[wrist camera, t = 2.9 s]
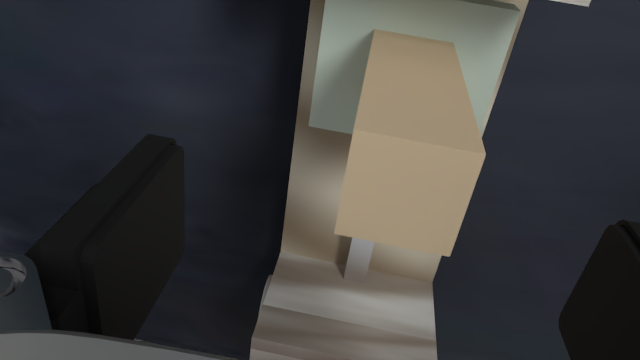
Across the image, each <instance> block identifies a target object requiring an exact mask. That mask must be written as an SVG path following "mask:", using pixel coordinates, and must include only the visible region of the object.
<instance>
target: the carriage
mask: <svg viewBox="0 0 640 360" xmlns="http://www.w3.org/2000/svg"><path fill="white" fill-rule="evenodd" d="M520 12H521V11H520V10H519V9H518V7H517V6H516V5H515V4H511V3H505V2H499V1H493V0H325V7H324V14H323V22H322V29H321V36H320V44H319V51H318V59H317V66H316V74H315V81H314V88H313V96H312V103H311V111H310V118H309V126H311V127H316V128H321V129H327V130H332V131H337V132H343V133H348V134H352V140H351V145H350V150H349V156H348V161H347V166H346V172H345V177H344V182H343V188H342V193H341V198H340V204H339V209H338V214H337V220H336V225H335V230H334V234H338V235H343V236H348V237H353V238H358V239H363V240H368V241H373V242H378V243H383V244H388V245H393V246H398V247H403V248H408V249H413V250H418V251H423V252H428V253H433V254H438V255H443V256H448V257H450V255H451V252H452V249H453V247H454V244H455V241H456V238H457V235H458V232H459V230H460V227H461V224H462V221H463V218H464V215H465V213H466V210H467V207H468V204H469V201H470V198H471V196H472V193H473V190H474V187H475V184H476V181H477V179H478V176H479V173H480V170H481V167H482V164H483V162H484V159H485V156H486V152H485V149H484V145H483V142H482V139H481V135H480V131H481V128H482V125H483V122H484V119H485V116H486V113H487V110H488V107H489V104H490V101H491V98H492V95H493V92H494V89H495V86H496V83H497V80H498V77H499V74H500V72H501V69H502V66H503V63H504V60H505V57H506V54H507V51H508V48H509V45H510V42H511V39H512V36H513V33H514V30H515V27H516V24H517V21H518V18H519V15H520Z"/></svg>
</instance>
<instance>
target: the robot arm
mask: <svg viewBox="0 0 640 360" xmlns="http://www.w3.org/2000/svg"><path fill="white" fill-rule="evenodd" d="M183 249H184V150H183V147H181V146H177V144H176V141H175V139H173V138H168V137H162V136H157V135H151V134H148V135H146V136H145V137H144V138H143V139H142V140H141V141H140V142H139V143H138V144H137V145H136V146H135V147H134V148H133V149H132V150H131V151H130V152H129V153H128V154H127V155H126V156H125V157H124V158H123V159H122V160H121V161H120V162H119V163H118V164H117V165H116V166H115V167H114V168H113V169H112V170H111V171H110V172H109V173H108V174H107V175H106V176H105V177H104V178H103V179H102V180H101V182H100V183H99V184H96V185H95V186H93V187H92V188H91V189H90V190H89V191H88V192H87V193H86V194H85V195H84V196H83V197H82V198H81V199H80V200H79V201H78V202H77V203H76V204H75V205H74V206H73V207H72V208H71V209H70V210H69V211H68V212H67V213H66V214H65V215H64V216H63V217H62V218H61V219H60V220H59V221H58V222H57V223H56V224H55V225H54V226H53V227H52V228H51V229H50V230H49V231H48V232H47V233H46V234H45V235H44V236H43V237H42V238H41V239H40V240H39V241H38V242H37V243H36V244H35V245H34V246H33V247H32V248H31V249H30V250H29V251H28V252H27V253H26V254H25V255H23V254H20V253H16V252H11V251H0V360H240V359H234V358H229V357H224V356H219V355H213V354H208V353H203V352H198V351H192V350H187V349H181V348H176V347H171V346H165V345H160V344H155V343H149V342H143V341H136V340H134V338H135V337H136V335H137V333H138V331H139V330H140V328H141V326H142V324H143V323H144V321H145V319H146V317H147V316H148V314H149V312H150V310H151V309H152V307H153V305H154V303H155V302H156V300H157V298H158V296H159V295H160V293H161V291H162V289H163V288H164V286H165V284H166V282H167V281H168V279H169V277H170V275H171V274H172V272H173V270H174V268H175V267H176V265H177V263H178V261H179V260H180V258H181V255H182V253H183ZM559 329H560V332H561V335H562V338H563V340H564V343H565V346H566V348H567V351H568V354H569V356H570V359H571V360H640V223H637V222H632V221H626V220H621V221H619V222H617V223H616V224H615V225H610V226H608V227H607V228H606V230H605V231H604V233H603V235H602V237H601V239H600V241H599V243H598V244H597V246H596V248H595V250H594V252H593V254H592V256H591V258H590V259H589V261H588V263H587V265H586V267H585V269H584V271H583V272H582V274H581V276H580V278H579V280H578V282H577V284H576V286H575V287H574V289H573V291H572V293H571V295H570V297H569V299H568V300H567V302H566V304H565V306H564V308H563V310H562V312H561V314H560V317H559Z"/></svg>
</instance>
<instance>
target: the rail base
mask: <svg viewBox="0 0 640 360" xmlns="http://www.w3.org/2000/svg"><path fill="white" fill-rule="evenodd" d="M493 1H499V2H505V3H511V4H515V5H516V6H517V7H518V9H519V10H520V11H521V12H520V15H519V18H518V21H517V24H516V27H515V30H514V33H513V36H512V39H511V42H510V45H509V48H508V51H507V54H506V57H505V60H504V63H503V66H502V69H501V72H500V74H499V77H498V80H497V83H496V86H495V89H494V92H493V95H492V98H491V101H490V104H489V107H488V110H487V113H486V116H485V119H484V122H483V125H482V128H481V131H480V135H481V139H482V136H483V133H484V130H485V127H486V124H487V121H488V118H489V115H490V112H491V109H492V106H493V103H494V100H495V98H496V95H497V92H498V89H499V86H500V83H501V80H502V77H503V74H504V71H505V68H506V65H507V62H508V59H509V57H510V54H511V51H512V48H513V45H514V42H515V39H516V36H517V33H518V30H519V27H520V24H521V21H522V18H523V16H524V13H525V10H526V7H527V4H528V1H529V0H493ZM552 1H558V2H564V3H570V4H576V5H582V6H589V4H590V1H591V0H552ZM324 7H325V0H311V2H310V10H309V18H308V27H307V35H306V43H305V52H304V60H303V68H302V77H301V85H300V94H299V102H298V110H297V119H296V127H295V135H294V144H293V152H292V160H291V169H290V177H289V185H288V194H287V202H286V210H285V219H284V227H283V236H282V244H281V252H280V255H279V258H278V261H277V264H276V267H275V270H274V273H273V275H269V277H268V279H267V281H266V284H265V288H264V291H263V295H262V300H261V304H260V309H259V312H258V316H257V317H258V320H257V323H256V326H255V329H254V332H253V335H252V340H251V351H250V360H437V347H436V332H435V316H434V301H433V286H432V282H433V279H434V276H435V273H436V270H437V267H438V265H439V262H440V259H441V256H442V255H438V254H433V253H428V252H423V251H418V250H413V249H408V248H403V247H398V246H393V245H388V244H383V243H378V242H373V241H368V240H363V239H358V238H353V237H348V236H343V235H338V234H334V230H335V225H336V220H337V214H338V209H339V204H340V198H341V193H342V188H343V182H344V177H345V172H346V166H347V161H348V156H349V150H350V145H351V140H352V134H348V133H343V132H337V131H332V130H327V129H321V128H316V127H311V126H309V118H310V111H311V103H312V96H313V88H314V81H315V74H316V66H317V59H318V51H319V44H320V36H321V29H322V22H323V14H324Z"/></svg>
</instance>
